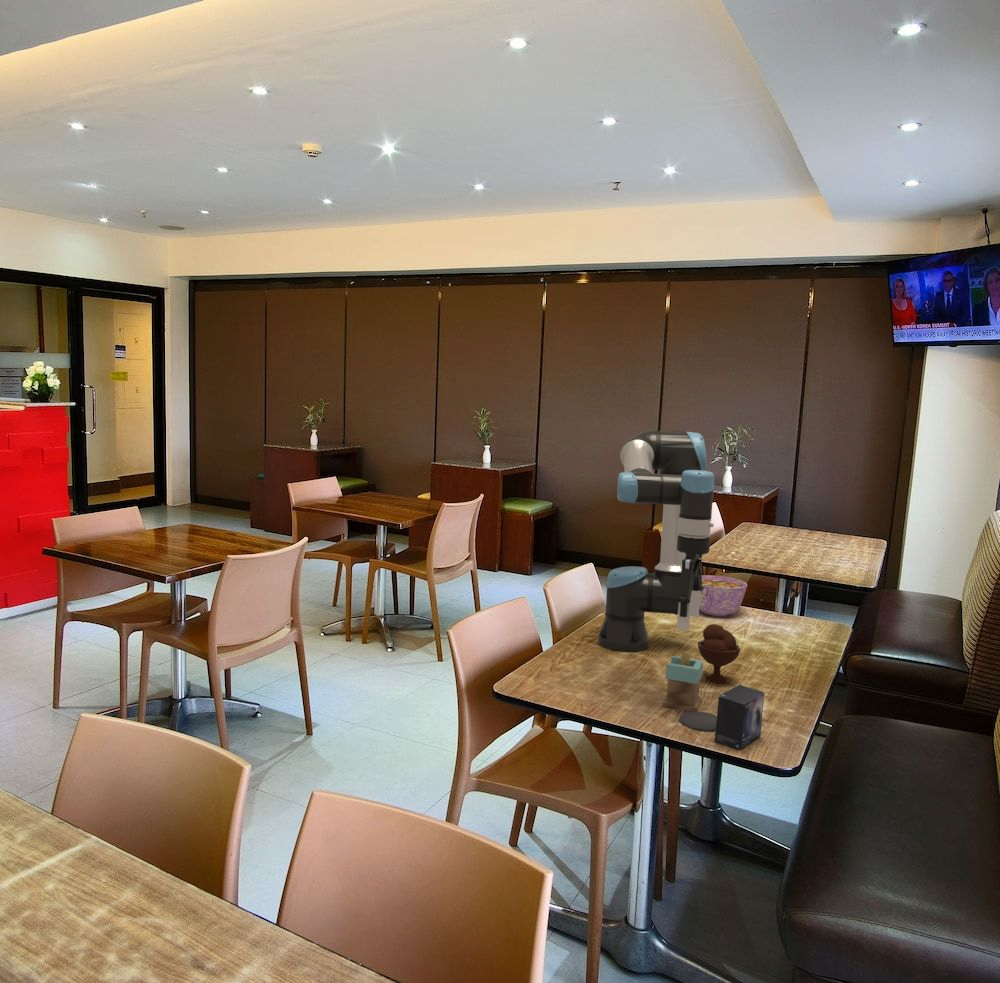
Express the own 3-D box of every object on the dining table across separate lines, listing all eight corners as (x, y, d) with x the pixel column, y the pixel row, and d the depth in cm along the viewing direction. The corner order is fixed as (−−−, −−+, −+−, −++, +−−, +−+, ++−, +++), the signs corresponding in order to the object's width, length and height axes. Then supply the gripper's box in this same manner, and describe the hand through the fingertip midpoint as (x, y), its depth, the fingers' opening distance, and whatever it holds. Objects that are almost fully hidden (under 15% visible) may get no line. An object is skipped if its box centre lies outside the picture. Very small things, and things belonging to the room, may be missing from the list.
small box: (741, 751, 166) (745, 703, 165) (713, 741, 171) (716, 695, 170) (762, 736, 174) (766, 691, 173) (734, 728, 179) (738, 683, 177)
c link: (665, 678, 189) (666, 664, 188) (671, 669, 196) (672, 655, 195) (697, 684, 186) (698, 669, 185) (702, 674, 193) (703, 660, 192)
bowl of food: (688, 618, 269) (690, 585, 268) (684, 604, 289) (686, 573, 288) (748, 623, 266) (751, 590, 265) (740, 608, 286) (743, 577, 284)
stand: (662, 706, 189) (665, 656, 188) (669, 695, 197) (672, 647, 195) (696, 713, 186) (699, 662, 185) (701, 701, 194) (705, 652, 192)
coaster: (675, 725, 178) (675, 723, 178) (683, 710, 187) (683, 708, 187) (720, 734, 174) (721, 732, 174) (726, 718, 184) (726, 716, 184)
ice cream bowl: (715, 689, 202) (720, 633, 201) (686, 675, 212) (690, 621, 210) (746, 684, 207) (750, 628, 206) (716, 670, 217) (720, 617, 215)
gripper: (701, 544, 174) (695, 638, 176) (717, 530, 197) (711, 613, 199) (667, 541, 177) (661, 633, 179) (687, 527, 200) (681, 609, 202)
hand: (688, 623), depth 189 cm, fingers open, 13 cm apart
